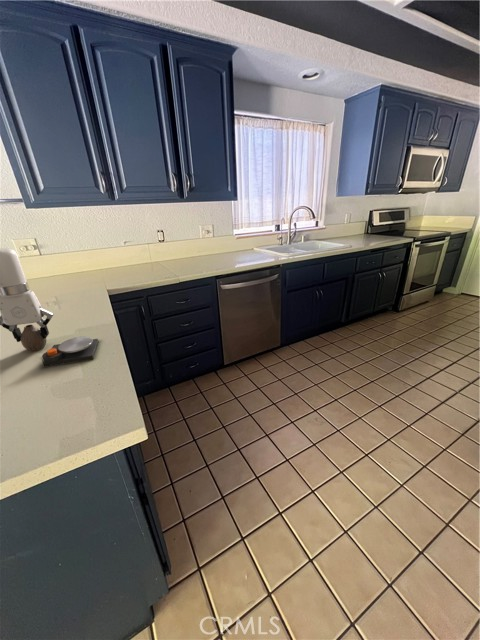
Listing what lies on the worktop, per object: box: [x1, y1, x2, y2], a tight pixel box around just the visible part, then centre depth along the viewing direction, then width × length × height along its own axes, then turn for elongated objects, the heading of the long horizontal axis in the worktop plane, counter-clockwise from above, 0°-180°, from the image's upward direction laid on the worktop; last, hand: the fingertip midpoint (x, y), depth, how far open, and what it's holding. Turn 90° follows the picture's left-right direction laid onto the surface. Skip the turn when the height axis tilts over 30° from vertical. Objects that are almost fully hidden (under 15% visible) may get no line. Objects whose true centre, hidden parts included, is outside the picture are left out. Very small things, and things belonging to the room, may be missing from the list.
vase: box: [20, 324, 47, 352], centre depth 91 cm, size 7×7×9 cm
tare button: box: [46, 347, 58, 356], centre depth 84 cm, size 3×3×2 cm
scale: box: [41, 338, 99, 368], centre depth 89 cm, size 14×12×3 cm
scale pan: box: [58, 336, 93, 353], centre depth 89 cm, size 10×10×1 cm
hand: (33, 337), depth 91 cm, fingers closed on vase, 6 cm apart
